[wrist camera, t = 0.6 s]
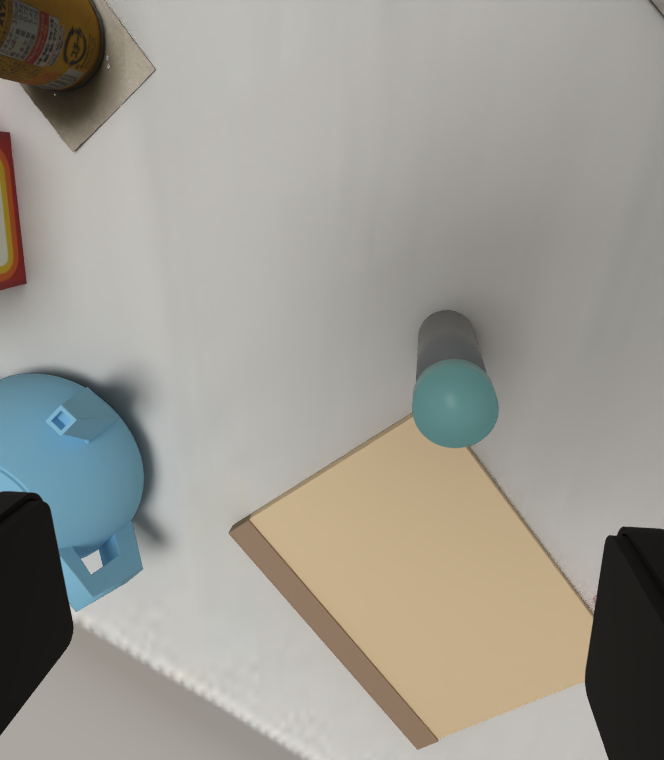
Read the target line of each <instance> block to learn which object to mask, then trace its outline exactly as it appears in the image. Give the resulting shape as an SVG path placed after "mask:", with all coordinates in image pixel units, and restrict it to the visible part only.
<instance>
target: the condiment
mask: <svg viewBox="0 0 664 760" xmlns="http://www.w3.org/2000/svg"><path fill="white" fill-rule="evenodd" d="M107 55H108V56H109V60H108V61H107V60H106V56H107ZM107 63H109V64H110V69H109V70H108V69H107ZM154 70H155V69H154V67H153V66H152V65H151V63H150V62H149V61H148V59H147V58H146V57H145V55H144V54H143V53H142V51H141V50H140V48H139V47H138V46H137V44H136V43H135V42H134V41H133V39H132V38H131V37H130V35H129V34H128V32H127V31H126V30H125V28H124V27H123V26H122V24H121V23H120V22H119V20H118V19H117V17H116V16H115V15H114V13H113V12H112V10H111V9H110V8H109V6H108V5H107V3H106V2H105V1H104V0H0V78H2V79H7V80H11V81H15V82H19V83H20V84H21V86H22V87H23V89H24V90H25V91H26V93H27V94H28V95H29V96H30V98H31V100H32V101H33V102H34V104H35V105H36V106H37V107H38V108H39V109H40V111H41V112H42V113H43V115H44V116H45V117H46V118H47V119H48V121H49V122H50V123H51V125H52V126H53V127H54V128H55V130H56V131H57V133H58V134H59V135H60V137H61V138H62V140H63V141H64V142H65V143H66V144H67V145H68V147H69V148H70V149H71V151H72V152H73V151H74V150H76V149H77V148H78V147H79V146H80V145H81V143H83V142H84V141H86V139H87V138H88V137H89V136H90V135H92V133H94V132H95V130H96V129H97V128H98V127H99V126H101V125H102V124H103V123H104V122H105V121H106V120H107V119H108V118H109V117H110V116H111V115H112V114H113V113H114V112H115V110H116V109H118V108H119V107H120V106H121V105H122V104H123V103H124V101H125V100H126V99H127V98H128V97H129V96H130V95H131V94H132V93H133V92H134V91H135V90H136V89H137V88H138V87H139V86H140V85H141V84H142V83H143V82H144V80H145V79H146V78H147V77H148V76H149V75H150V74H151V73H152V72H153V71H154ZM54 93H55V94H56V95H55V96H54Z"/></svg>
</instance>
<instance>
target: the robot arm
mask: <svg viewBox="0 0 664 760" xmlns="http://www.w3.org/2000/svg"><path fill="white" fill-rule="evenodd" d="M652 2H653V3H654V4H655V5H656V6H657V8H658V9H659V10H660V11H661V13H662V14H663V15H664V0H652ZM72 635H73V621H72V615H71V610H70V605H69V600H68V595H67V590H66V585H65V580H64V575H63V570H62V565H61V559H60V554H59V549H58V544H57V539H56V534H55V529H54V524H53V519H52V514H51V509H50V506H49V505H48V504H47V503H46V502H44V501H43V499H42V498H41V496H40V495H39V494H37V493H33V492H16V491H2V492H0V735H1V734H2V732H3V731H4V730H5V728H6V727H7V726H8V725H9V723H10V722H11V721H12V719H13V718H14V717H15V715H16V714H17V713H18V712H19V710H20V709H21V708H22V706H23V705H24V704H25V702H26V701H27V700H28V698H29V697H30V696H31V694H32V693H33V692H34V691H35V689H36V688H37V687H38V685H39V684H40V683H41V681H42V680H43V679H44V678H45V676H46V675H47V673H48V672H49V671H50V670H51V668H52V667H53V666H54V664H55V663H56V662H57V660H58V659H59V658H60V657H61V655H62V654H63V652H64V651H65V650H66V649H67V647H68V645H69V644H70V641H71V639H72ZM585 686H586V693H587V697H588V700H589V703H590V706H591V709H592V712H593V715H594V718H595V721H596V724H597V727H598V730H599V733H600V736H601V738H602V741H603V744H604V747H605V750H606V753H607V756H608V759H609V760H664V530H663V529H656V528H639V527H622V528H620V530H619V532H618V534H617V536H613V535H609V536H608V537H607V538H606V541H605V545H604V552H603V558H602V565H601V571H600V578H599V584H598V591H597V598H596V604H595V611H594V617H593V624H592V630H591V637H590V643H589V650H588V656H587V663H586V669H585Z"/></svg>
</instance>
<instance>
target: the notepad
mask: <svg viewBox="0 0 664 760" xmlns="http://www.w3.org/2000/svg"><path fill="white" fill-rule="evenodd" d="M229 534H230V536H231V537H232V538H233V539H234V540H235V541H236V542H237V544H238V545H239V546H240V547H241V548H242V549H243V550H244V552H245V553H246V554H247V555H248V556H249V557H250V558H251V560H252V561H253V562H254V563H255V564H256V565H257V566H258V568H259V569H260V570H261V571H262V572H263V573H264V575H265V576H266V577H267V578H268V579H269V580H270V581H271V583H272V584H273V585H274V586H275V587H276V588H277V589H278V591H279V592H280V593H281V594H282V595H283V596H284V597H285V599H286V600H287V601H288V602H289V603H290V604H291V605H292V607H293V608H294V609H295V610H296V611H297V612H298V613H299V615H300V616H301V617H302V618H303V619H304V620H305V621H306V623H307V624H308V625H309V626H310V627H311V628H312V629H313V631H314V632H315V633H316V634H317V635H318V636H319V638H320V639H321V640H322V641H323V642H324V643H325V644H326V646H327V647H328V648H329V649H330V650H331V651H332V652H333V654H334V655H335V656H336V657H337V658H338V659H339V660H340V662H341V663H342V664H343V665H344V666H345V667H346V668H347V670H348V671H349V672H350V673H351V674H352V675H353V676H354V678H355V679H356V680H357V681H358V682H359V683H360V684H361V686H362V687H363V688H364V689H365V690H366V691H367V692H368V694H369V695H370V696H371V697H372V698H373V699H374V701H375V702H376V703H377V704H378V705H379V706H380V707H381V709H382V710H383V711H384V712H385V713H386V714H387V715H388V717H389V718H390V719H391V720H392V721H393V722H394V723H395V725H396V726H397V727H398V728H399V729H400V730H401V731H402V733H403V734H404V735H405V736H406V737H407V738H408V739H409V741H410V742H411V743H412V744H413V745H414V746H415V747H416V749H417V750H418V749H421V748H423V747H426V746H428V745H431V744H433V743H436V742H438V739H440V738H442V737H445V736H447V735H450V734H452V733H455V732H458V731H460V730H463V729H465V728H468V727H470V726H473V725H475V724H478V723H480V722H483V721H485V720H488V719H490V718H493V717H495V716H498V715H500V714H503V713H505V712H508V711H510V710H513V709H515V708H518V707H520V706H523V705H526V704H528V703H531V702H533V701H536V700H538V699H541V698H543V697H546V696H548V695H551V694H553V693H556V692H558V691H561V690H563V689H566V688H568V687H571V686H573V685H576V684H578V683H581V682H583V681H585V669H586V663H587V656H588V650H589V643H590V637H591V630H592V624H593V617H594V615H593V613H592V612H591V611H590V609H589V608H588V607H587V605H586V604H585V602H584V601H583V600H582V598H581V597H580V596H579V594H578V593H577V592H576V590H575V589H574V588H573V586H572V585H571V584H570V582H569V581H568V580H567V578H566V577H565V576H564V574H563V573H562V572H561V570H560V569H559V568H558V566H557V565H556V564H555V562H554V561H553V560H552V558H551V557H550V556H549V554H548V553H547V551H546V550H545V549H544V547H543V546H542V545H541V543H540V542H539V541H538V539H537V538H536V537H535V535H534V534H533V533H532V531H531V530H530V529H529V527H528V526H527V525H526V523H525V522H524V521H523V519H522V518H521V517H520V515H519V514H518V513H517V511H516V510H515V509H514V507H513V506H512V505H511V503H510V502H509V501H508V499H507V498H506V496H505V495H504V494H503V492H502V491H501V490H500V488H499V487H498V486H497V484H496V483H495V482H494V480H493V479H492V478H491V476H490V475H489V474H488V472H487V471H486V470H485V468H484V467H483V466H482V464H481V463H480V462H479V460H478V459H477V458H476V456H475V455H474V454H473V452H472V451H471V450H470V448H469V447H468V446H467V447H463V448H447V447H443V446H440V445H437V444H435V443H433V442H431V441H430V440H428V439H427V438H426V437H425V436H424V435H423V434H422V433H421V432H420V431H419V429H418V428H417V426H416V424H415V421H414V418H413V413H411V414H410V415H408V416H406V417H405V418H403V419H402V420H400V421H398V422H397V423H395V424H394V425H392V426H390V427H389V428H387V429H386V430H384V431H383V432H381V433H379V434H378V435H376V436H375V437H373V438H371V439H370V440H368V441H367V442H365V443H363V444H362V445H360V446H359V447H357V448H355V449H354V450H352V451H351V452H349V453H347V454H346V455H344V456H343V457H341V458H339V459H338V460H336V461H335V462H333V463H332V464H330V465H328V466H327V467H325V468H324V469H322V470H320V471H319V472H317V473H316V474H314V475H312V476H311V477H309V478H308V479H306V480H304V481H303V482H301V483H300V484H298V485H296V486H295V487H293V488H292V489H290V490H289V491H287V492H285V493H284V494H282V495H281V496H279V497H277V498H276V499H274V500H273V501H271V502H269V503H268V504H266V505H265V506H263V507H261V508H260V509H258V510H257V511H255V512H253V513H252V514H250V515H249V516H247V517H245V518H244V519H242V520H241V521H239V522H238V523H236V524H234V525H233V526H232V528H231V530H230V531H229Z"/></svg>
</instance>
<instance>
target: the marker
mask: <svg viewBox="0 0 664 760" xmlns="http://www.w3.org/2000/svg"><path fill="white" fill-rule="evenodd" d="M498 408H499V407H498V401H497V397H496V394H495V391H494V388H493V384H492V382H491V380H490V378H489V376H488V375H487V373H486V370H485V366H484V363H483V360H482V357H481V354H480V350H479V347H478V344H477V341H476V337H475V334H474V331H473V328H472V326H471V324H470V322H469V321H468V319H467V318H465V317H464V316H463V315H462V314H460V313H457V312H455V311H448V310H446V311H439V312H436V313H434V314H432V315H430V316H429V317H428V318H427V319H426V320H425V321H424V322H423V324H422V325H421V328H420V330H419V336H418V355H417V374H416V384H415V387H414V392H413V406H412V412H413V418H414V421H415V424H416V426H417V428H418V429H419V431H420V432H421V433H422V434H423V435H424V436H425V437H426V438H427V439H428V440H430V441H431V442H433V443H435V444H437V445H440V446H443V447H447V448H463V447H467V446H471V445H473V444H475V443H477V442H479V441H481V440H482V439H484V438H485V437H486V436H487V435H488V434H489V433H490V432H491V430H492V429H493V427H494V425H495V423H496V420H497V417H498Z"/></svg>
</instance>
